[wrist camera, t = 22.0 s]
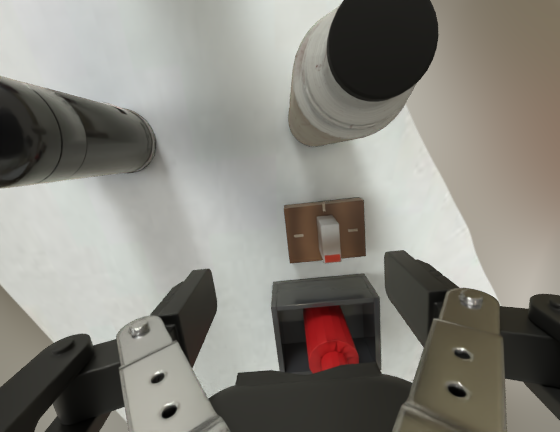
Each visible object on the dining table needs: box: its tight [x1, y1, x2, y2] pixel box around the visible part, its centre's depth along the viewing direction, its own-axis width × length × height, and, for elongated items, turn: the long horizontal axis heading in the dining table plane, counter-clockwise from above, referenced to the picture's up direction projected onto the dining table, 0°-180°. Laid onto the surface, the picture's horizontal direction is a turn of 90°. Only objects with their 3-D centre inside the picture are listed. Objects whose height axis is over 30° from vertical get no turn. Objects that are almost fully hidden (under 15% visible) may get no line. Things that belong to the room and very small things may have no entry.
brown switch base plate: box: [284, 197, 366, 263], centre depth 41 cm, size 12×10×3 cm
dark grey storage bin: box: [271, 274, 381, 375], centre depth 43 cm, size 16×13×8 cm
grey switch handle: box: [317, 215, 341, 263], centre depth 38 cm, size 6×2×5 cm, turn 7°
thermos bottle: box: [288, 0, 438, 146], centre depth 25 cm, size 8×8×28 cm
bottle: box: [303, 305, 359, 373], centre depth 37 cm, size 7×7×17 cm
